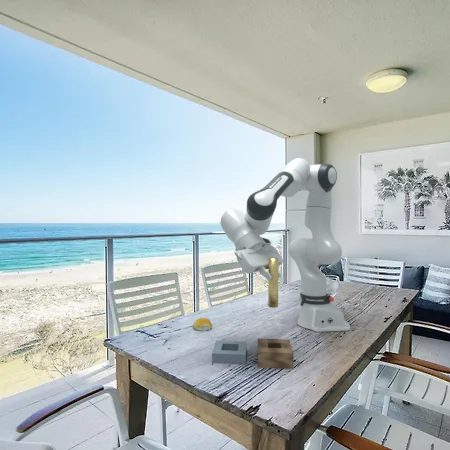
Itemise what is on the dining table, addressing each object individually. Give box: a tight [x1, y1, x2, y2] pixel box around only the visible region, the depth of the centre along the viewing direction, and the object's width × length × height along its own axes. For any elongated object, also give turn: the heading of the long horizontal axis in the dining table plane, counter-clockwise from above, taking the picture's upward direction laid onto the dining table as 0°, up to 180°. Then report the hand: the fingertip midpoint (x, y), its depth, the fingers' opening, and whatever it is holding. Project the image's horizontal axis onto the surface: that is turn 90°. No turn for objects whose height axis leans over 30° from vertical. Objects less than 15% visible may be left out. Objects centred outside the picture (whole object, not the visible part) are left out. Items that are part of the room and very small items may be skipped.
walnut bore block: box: [257, 337, 294, 370], centre depth 104 cm, size 11×11×6 cm
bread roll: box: [192, 317, 213, 332], centre depth 139 cm, size 8×9×4 cm
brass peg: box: [267, 258, 279, 308], centre depth 104 cm, size 3×3×16 cm
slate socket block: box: [211, 340, 247, 366], centre depth 108 cm, size 11×11×4 cm
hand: (275, 278), depth 104 cm, fingers closed on brass peg, 3 cm apart
